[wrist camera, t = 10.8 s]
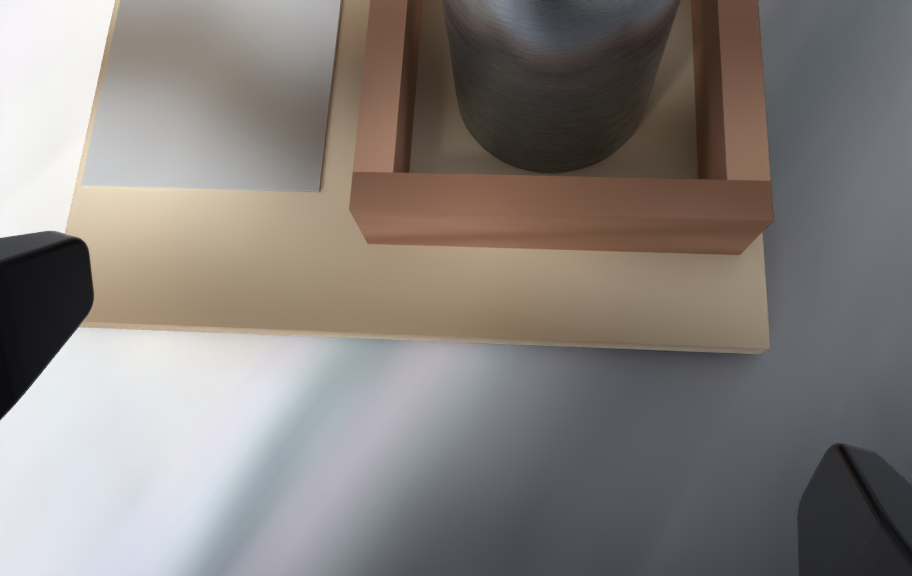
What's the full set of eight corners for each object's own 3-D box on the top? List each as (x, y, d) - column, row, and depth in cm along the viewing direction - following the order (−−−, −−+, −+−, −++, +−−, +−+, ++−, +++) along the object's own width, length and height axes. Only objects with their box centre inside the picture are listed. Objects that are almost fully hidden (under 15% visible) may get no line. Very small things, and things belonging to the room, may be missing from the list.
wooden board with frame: (760, 354, 15) (809, 326, 13) (62, 326, 17) (-17, 296, 14) (731, -105, 19) (767, -199, 16) (151, -101, 20) (100, -187, 17)
